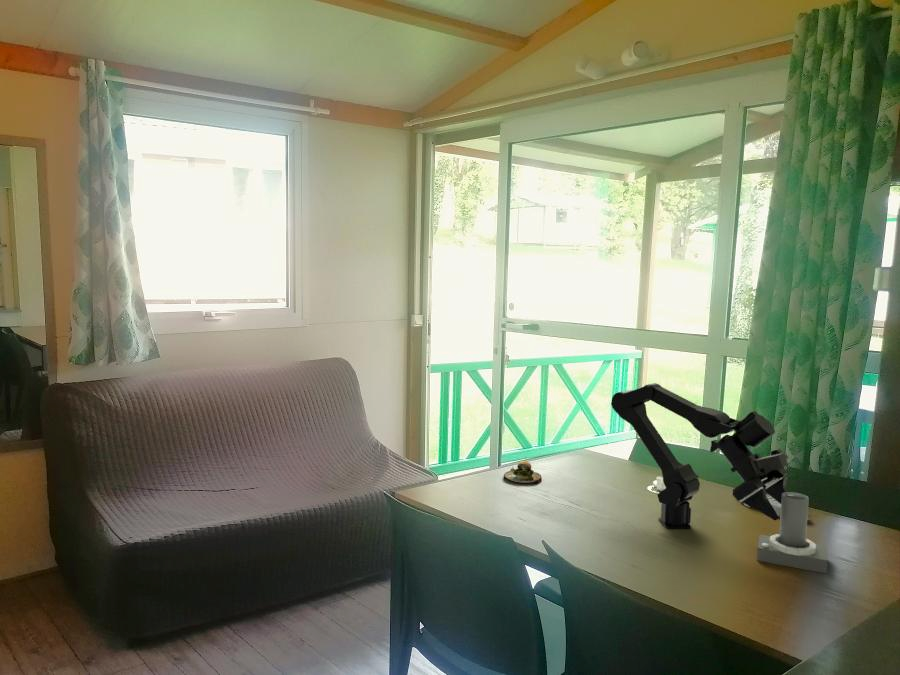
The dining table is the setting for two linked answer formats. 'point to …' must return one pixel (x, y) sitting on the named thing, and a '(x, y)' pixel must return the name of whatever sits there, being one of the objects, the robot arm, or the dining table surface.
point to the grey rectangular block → (792, 554)
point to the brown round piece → (523, 473)
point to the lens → (793, 520)
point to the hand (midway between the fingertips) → (784, 514)
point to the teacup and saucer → (657, 484)
